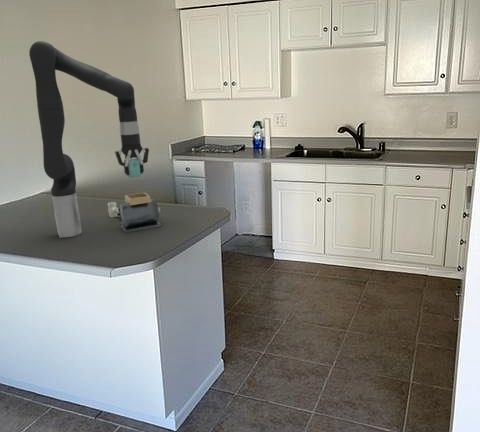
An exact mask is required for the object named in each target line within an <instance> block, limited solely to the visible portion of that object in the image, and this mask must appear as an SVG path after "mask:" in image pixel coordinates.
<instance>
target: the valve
mask: <svg viewBox="0 0 480 432" xmlns="http://www.w3.org/2000/svg"><path fill="white" fill-rule="evenodd" d="M107 207H108V208H107V211H108V217H109V218H117V217H119V218H118V219H119V220H121V215H120V207H117V202H116V201H111V202H108V203H107Z"/></svg>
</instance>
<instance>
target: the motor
mask: <svg viewBox="0 0 480 432" xmlns="http://www.w3.org/2000/svg"><path fill="white" fill-rule="evenodd" d="M124 202H125V203H120V205H119V208H120V215H121V219H120V220H121V222H122V223H121V224H120V228H121V229H122V230H123V231H124V232H125V233H126V232H127V233H131V231H133V232H137V230H138V231H144V230H149V229H154V228H158V227H162V223H161V222H159V219H160V214H159V213H160V212H161V210H162V209H161V207H160V206H158V204H157V203H158V202H157V201H156V199H155V198H151V195H149V194H148V193H146V192H145V191H144V192H139V193H131V194H125V195H124Z"/></svg>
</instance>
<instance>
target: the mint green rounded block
mask: <svg viewBox="0 0 480 432" xmlns="http://www.w3.org/2000/svg"><path fill="white" fill-rule="evenodd" d="M128 168H129V175H128V178H131V179H133V178H141V177H142V174H141V172H140V163H139V159H137V158H130V159H129V161H128Z"/></svg>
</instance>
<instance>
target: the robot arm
mask: <svg viewBox="0 0 480 432" xmlns="http://www.w3.org/2000/svg"><path fill="white" fill-rule="evenodd" d="M28 53H29V59H30V63H31V67H32V70H33V71H32V72H33V75H34V81H35V93H36V103H37V105H36V106H37V113H38V114H37V115H38V120H39V125H40V126H39V127H40V132H41V133H40V134H41V139H42V154H43V155H42V156H43V169H44V172H45V174H46V176H47V177H49V178H50V179H52V180H53V182H52V187H51V189H50V193H51V198H52V204H53V210H54V219H55V224H56V225H55V226H56V230H57V235H58V237H59V238H60V239H61V238H74V237H76V236H79V235H82V233H83V231H82V230H83V229H82V223H81V216H80V211H79V206H78V205H79V204H78V198H77V190H76V187H77V178H76V171H75V163H74V161H73V159H72V158H71V157H70V155H68V154H65V153H64V150H63V134H64V130H65V122H66V121H65V110H64V105H63V100H62V96H61V92H60V90H59V85H58V82H57V78H56V77H57V76H56V75H57V74H56V71H59V72H62V73H65V74H66V75H69V76H71V77H74V79H77V80H79V81H80V82H83V83H85V84H86V85H88V86H91V87H93V88H95V89H98V90H99V91H103V92H106V93H108V94H110V95H112V96H114V97H115V98H116V99H117V100H116V101H117V104H118V121H119V134H120V143H121V149H119V150H115V151H114V154H115V157H116V159H117V162H118V165H120V166H122V167H123V170H124V173H125V175H126V176H128V177H129V168H128V161H129V159H139V163H140V172H141V175H143V173H144V171H145V169H144V164H146V163H148V161H149V160H148V159H149V152H150V150H149V147H143V146H142V145H141V144H142V143H141V135H140V127H139V123H138V114H137V110H136V109H137V108H136V102H135V99H136V98H135V88H134V87H133V85H132V84H131V83H130V82H129V81H127V80H126V81H125V80H123V79H121V78H118V77H116V76H112V75H111V74H110V73H108V72H106V71H103V70H102V69H99V68H97V67H95V66H92V65H89V64H87V63H84V62H82V61H80V60H77V59H74V58H73V57H70V56H69V55H66V54H65V53H64V52H62V51H61V50H59V49H57V48H56V47H54V46H53V44H51V43H49V42H48V41H44V40H38V41H36V42H34V43H32V44H31V46H30V48H29V52H28ZM141 152H142V153H143V159H142V157H141V155H140V154H141ZM122 154H123V155H124V158H123V159H124V161H123V160H122V157H121V156H122Z"/></svg>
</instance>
